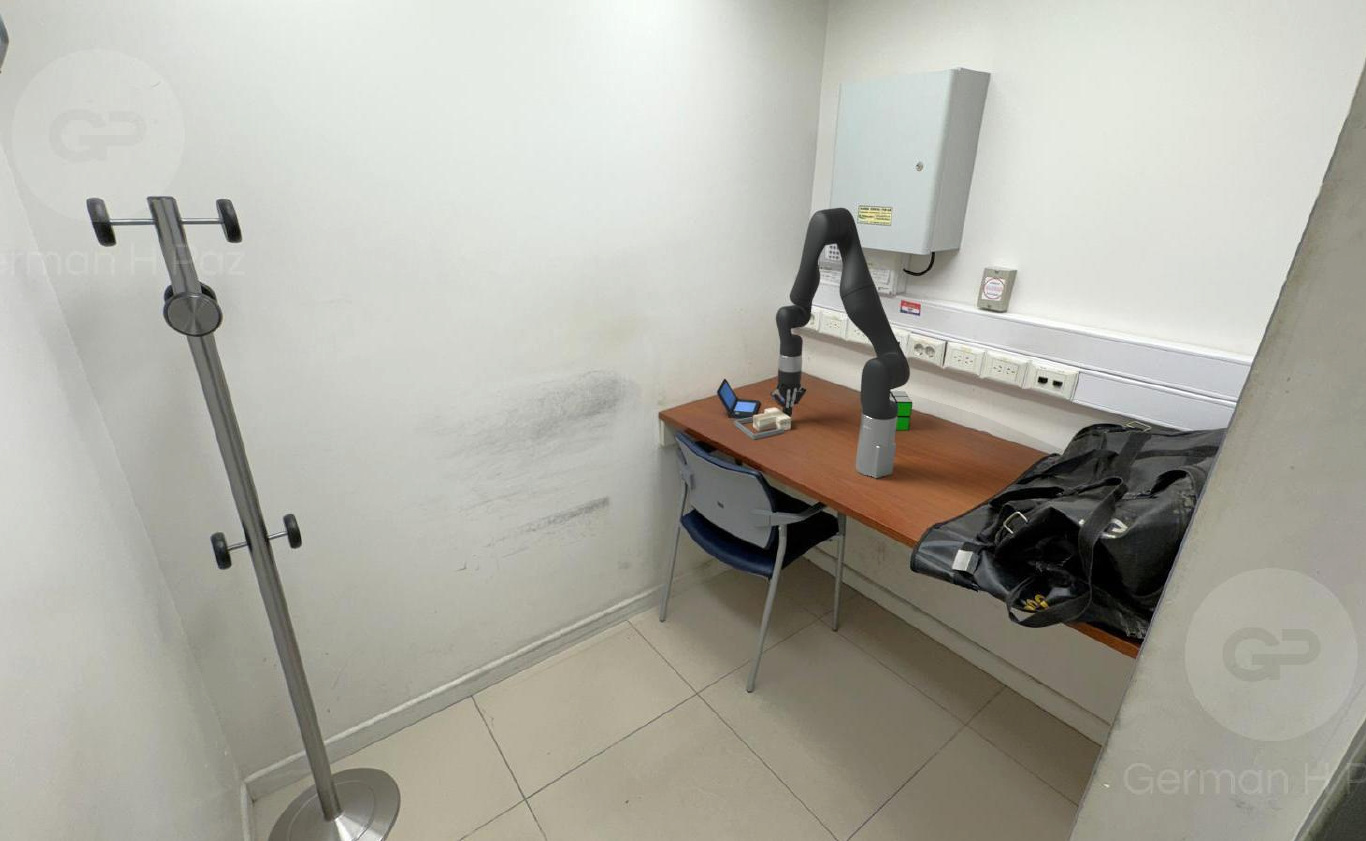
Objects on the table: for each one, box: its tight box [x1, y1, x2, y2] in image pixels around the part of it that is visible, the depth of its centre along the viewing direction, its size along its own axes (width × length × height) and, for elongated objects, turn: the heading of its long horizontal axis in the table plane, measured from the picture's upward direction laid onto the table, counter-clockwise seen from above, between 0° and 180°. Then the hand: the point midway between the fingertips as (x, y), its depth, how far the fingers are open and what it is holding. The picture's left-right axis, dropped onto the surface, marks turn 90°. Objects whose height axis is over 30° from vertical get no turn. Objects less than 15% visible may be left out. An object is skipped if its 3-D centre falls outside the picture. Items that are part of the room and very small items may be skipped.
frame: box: [733, 417, 784, 441], centre depth 190 cm, size 13×11×2 cm
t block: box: [752, 406, 792, 432], centre depth 192 cm, size 10×10×4 cm
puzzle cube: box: [890, 390, 913, 432], centre depth 190 cm, size 10×10×10 cm
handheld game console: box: [716, 378, 761, 419], centre depth 204 cm, size 16×13×9 cm
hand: (787, 416), depth 194 cm, fingers closed
